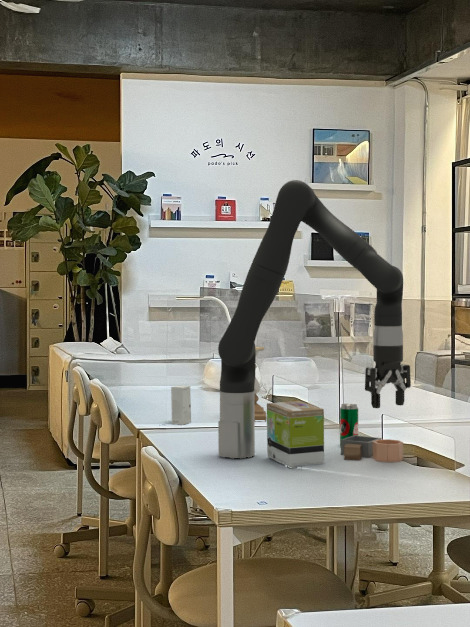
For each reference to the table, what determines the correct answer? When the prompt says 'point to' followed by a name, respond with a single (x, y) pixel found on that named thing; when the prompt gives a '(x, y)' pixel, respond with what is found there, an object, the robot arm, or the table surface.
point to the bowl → (388, 450)
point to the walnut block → (352, 452)
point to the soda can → (348, 421)
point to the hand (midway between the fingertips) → (388, 406)
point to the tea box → (295, 433)
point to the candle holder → (259, 410)
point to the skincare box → (181, 404)
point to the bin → (360, 440)
